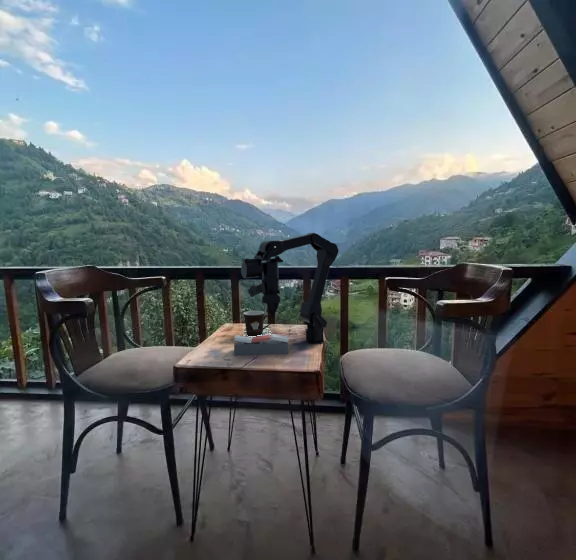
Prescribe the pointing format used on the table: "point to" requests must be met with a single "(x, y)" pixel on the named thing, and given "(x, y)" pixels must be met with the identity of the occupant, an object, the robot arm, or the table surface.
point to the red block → (261, 338)
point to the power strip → (260, 348)
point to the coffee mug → (255, 322)
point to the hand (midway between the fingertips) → (272, 317)
